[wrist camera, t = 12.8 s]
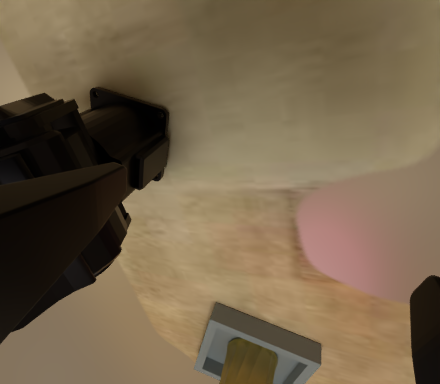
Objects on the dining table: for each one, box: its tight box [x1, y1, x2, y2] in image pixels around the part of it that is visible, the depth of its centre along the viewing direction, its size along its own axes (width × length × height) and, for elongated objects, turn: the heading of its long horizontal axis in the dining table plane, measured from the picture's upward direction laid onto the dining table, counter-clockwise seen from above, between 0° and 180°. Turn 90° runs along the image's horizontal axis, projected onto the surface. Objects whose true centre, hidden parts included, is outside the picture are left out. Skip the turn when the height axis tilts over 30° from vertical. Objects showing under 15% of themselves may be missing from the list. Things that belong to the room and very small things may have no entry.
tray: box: [194, 302, 321, 384], centre depth 34 cm, size 12×12×2 cm
